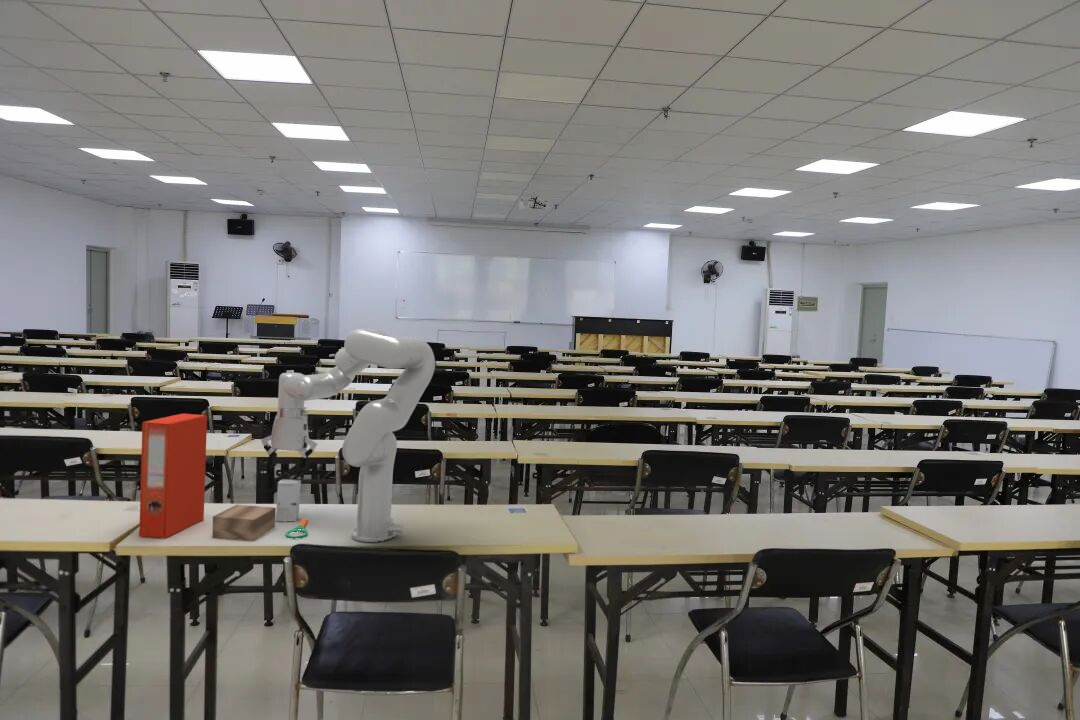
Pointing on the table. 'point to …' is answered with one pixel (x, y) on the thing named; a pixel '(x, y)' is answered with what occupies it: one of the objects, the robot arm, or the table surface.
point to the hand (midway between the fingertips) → (288, 468)
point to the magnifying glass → (302, 527)
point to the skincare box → (288, 500)
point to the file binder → (172, 474)
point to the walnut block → (243, 522)
